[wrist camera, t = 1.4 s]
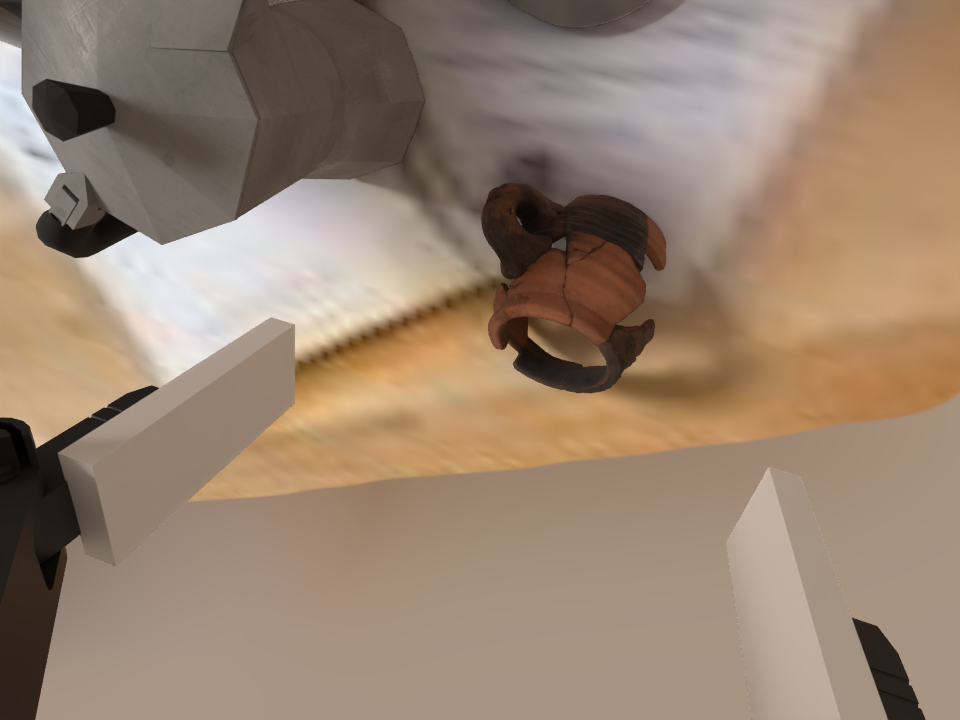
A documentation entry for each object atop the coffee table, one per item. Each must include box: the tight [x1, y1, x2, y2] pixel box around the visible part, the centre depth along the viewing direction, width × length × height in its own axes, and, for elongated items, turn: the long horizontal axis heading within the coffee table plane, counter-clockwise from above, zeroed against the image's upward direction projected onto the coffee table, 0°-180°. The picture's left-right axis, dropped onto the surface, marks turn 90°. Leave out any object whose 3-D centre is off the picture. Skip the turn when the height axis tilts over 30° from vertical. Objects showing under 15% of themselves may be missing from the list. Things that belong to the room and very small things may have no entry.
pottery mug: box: [481, 183, 666, 393], centre depth 30 cm, size 12×9×8 cm
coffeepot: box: [22, 0, 425, 258], centre depth 24 cm, size 15×9×18 cm, turn 131°
